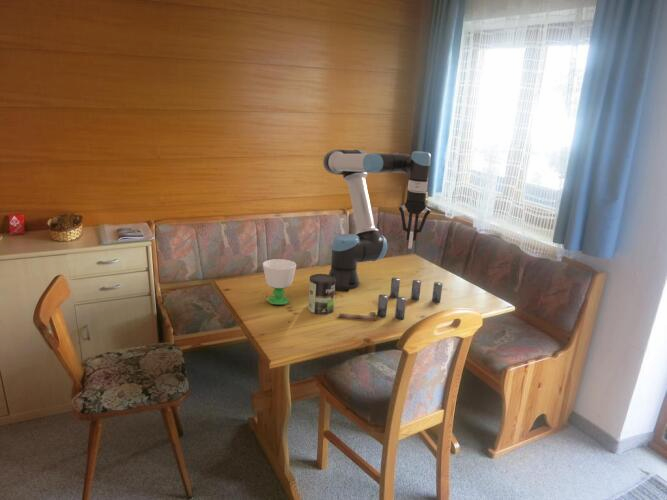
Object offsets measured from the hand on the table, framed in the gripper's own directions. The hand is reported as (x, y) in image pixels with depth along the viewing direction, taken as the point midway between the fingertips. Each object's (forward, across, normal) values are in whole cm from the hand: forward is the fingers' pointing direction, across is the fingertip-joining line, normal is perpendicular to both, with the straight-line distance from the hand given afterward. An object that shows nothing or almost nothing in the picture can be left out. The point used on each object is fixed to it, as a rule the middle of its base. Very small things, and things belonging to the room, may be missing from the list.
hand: (410, 247), depth 200 cm
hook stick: (+24, -16, -26) cm, 39 cm away
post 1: (+24, -7, -19) cm, 32 cm away
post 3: (+24, 0, -19) cm, 31 cm away
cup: (+25, -50, -16) cm, 59 cm away
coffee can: (+25, -31, -21) cm, 45 cm away
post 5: (+24, +14, +4) cm, 28 cm away
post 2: (+25, -4, +4) cm, 25 cm away
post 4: (+25, +5, +4) cm, 25 cm away
